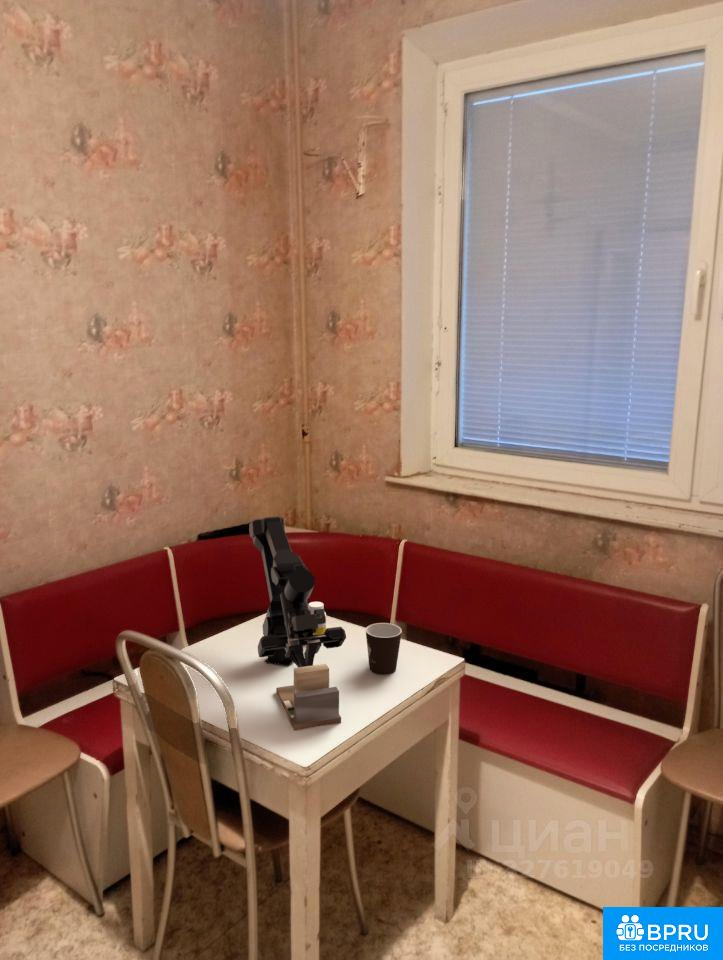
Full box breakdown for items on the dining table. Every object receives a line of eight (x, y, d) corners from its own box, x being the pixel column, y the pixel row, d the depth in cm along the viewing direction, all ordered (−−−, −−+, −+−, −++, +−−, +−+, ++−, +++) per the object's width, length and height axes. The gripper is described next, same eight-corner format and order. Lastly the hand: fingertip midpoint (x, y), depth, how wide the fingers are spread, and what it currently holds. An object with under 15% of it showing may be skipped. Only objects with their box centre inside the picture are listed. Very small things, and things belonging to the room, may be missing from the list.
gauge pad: (286, 708, 151) (286, 669, 150) (325, 702, 154) (325, 663, 152) (289, 714, 149) (289, 674, 147) (328, 708, 152) (329, 668, 150)
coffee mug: (397, 679, 168) (398, 639, 166) (361, 675, 170) (362, 635, 168) (404, 657, 179) (405, 620, 177) (370, 654, 181) (371, 616, 179)
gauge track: (276, 692, 161) (276, 662, 160) (319, 686, 164) (319, 656, 163) (294, 730, 146) (294, 698, 144) (341, 722, 149) (341, 690, 148)
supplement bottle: (302, 636, 191) (302, 602, 189) (321, 633, 193) (322, 599, 191) (309, 644, 186) (309, 609, 184) (328, 641, 188) (329, 606, 186)
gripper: (259, 601, 151) (271, 673, 143) (344, 592, 157) (359, 660, 149) (253, 622, 160) (263, 691, 152) (333, 612, 166) (347, 678, 158)
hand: (309, 679), depth 152 cm, fingers closed
